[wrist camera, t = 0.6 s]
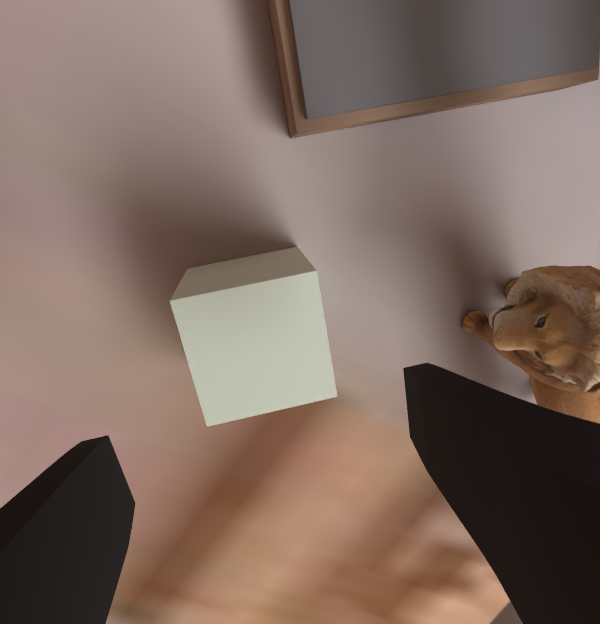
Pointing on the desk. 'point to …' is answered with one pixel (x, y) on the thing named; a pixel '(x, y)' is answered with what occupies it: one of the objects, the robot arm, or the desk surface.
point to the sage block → (254, 335)
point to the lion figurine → (551, 335)
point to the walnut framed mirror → (425, 55)
